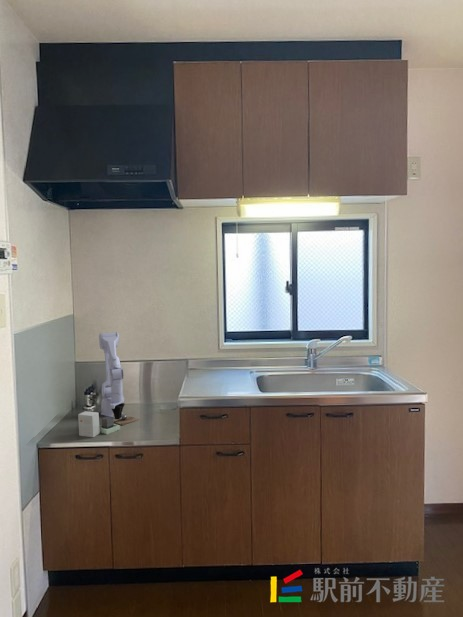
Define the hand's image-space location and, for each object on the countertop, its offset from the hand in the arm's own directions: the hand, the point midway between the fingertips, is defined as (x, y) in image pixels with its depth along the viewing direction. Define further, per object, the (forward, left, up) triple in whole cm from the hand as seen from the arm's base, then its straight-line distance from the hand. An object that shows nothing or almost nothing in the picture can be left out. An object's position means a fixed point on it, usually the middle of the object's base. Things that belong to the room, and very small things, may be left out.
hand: (118, 418), depth 258 cm
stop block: (+3, -9, -3) cm, 10 cm away
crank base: (-2, +5, -3) cm, 6 cm away
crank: (-2, +3, -1) cm, 4 cm away
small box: (+1, -18, -3) cm, 18 cm away
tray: (+3, -9, -3) cm, 10 cm away
